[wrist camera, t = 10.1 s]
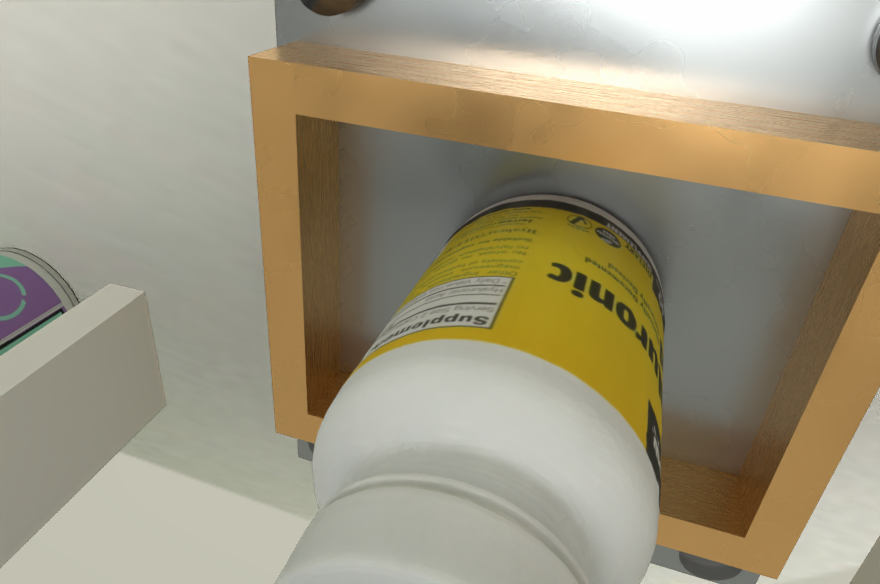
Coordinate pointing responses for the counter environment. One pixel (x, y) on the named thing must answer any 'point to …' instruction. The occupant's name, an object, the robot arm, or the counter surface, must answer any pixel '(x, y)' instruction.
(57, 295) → the spray can
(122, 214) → the counter surface
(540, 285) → the supplement bottle
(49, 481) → the robot arm
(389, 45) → the mold
